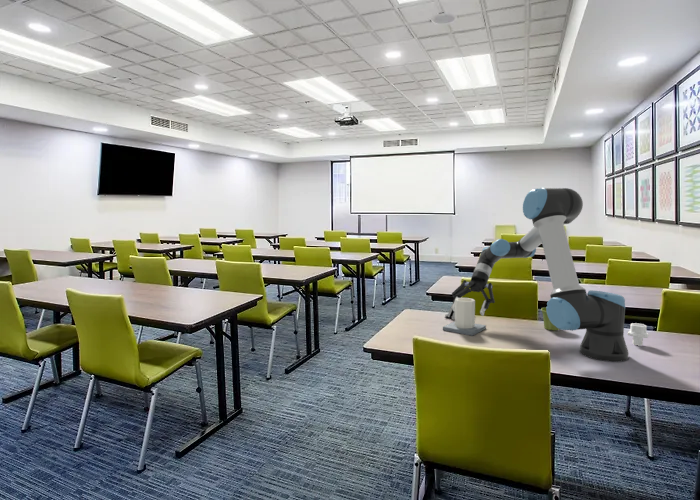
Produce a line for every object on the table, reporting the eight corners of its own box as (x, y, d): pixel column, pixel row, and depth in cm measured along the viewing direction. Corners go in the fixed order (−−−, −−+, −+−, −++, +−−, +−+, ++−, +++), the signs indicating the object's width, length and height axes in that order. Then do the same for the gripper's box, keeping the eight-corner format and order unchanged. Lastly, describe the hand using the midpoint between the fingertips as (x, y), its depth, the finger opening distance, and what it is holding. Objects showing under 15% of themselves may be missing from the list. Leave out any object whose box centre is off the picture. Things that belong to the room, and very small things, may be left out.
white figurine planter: (626, 345, 161) (627, 325, 161) (628, 341, 167) (629, 321, 166) (646, 348, 157) (647, 328, 157) (648, 344, 163) (649, 324, 162)
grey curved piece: (458, 311, 219) (465, 294, 216) (466, 315, 216) (473, 298, 213) (444, 317, 206) (450, 300, 203) (452, 322, 204) (458, 304, 201)
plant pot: (568, 330, 182) (569, 311, 181) (550, 332, 180) (551, 313, 179) (553, 325, 191) (554, 306, 190) (535, 326, 189) (536, 308, 188)
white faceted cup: (476, 325, 186) (477, 299, 185) (469, 329, 180) (469, 302, 179) (460, 322, 192) (460, 297, 190) (452, 326, 186) (452, 300, 184)
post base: (485, 328, 187) (486, 306, 186) (472, 335, 176) (472, 312, 175) (457, 323, 196) (457, 302, 195) (442, 329, 185) (442, 307, 184)
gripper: (509, 282, 192) (496, 320, 182) (459, 277, 208) (444, 312, 199) (505, 272, 188) (491, 311, 178) (454, 268, 204) (439, 303, 194)
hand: (467, 311), depth 188 cm, fingers open, 13 cm apart
